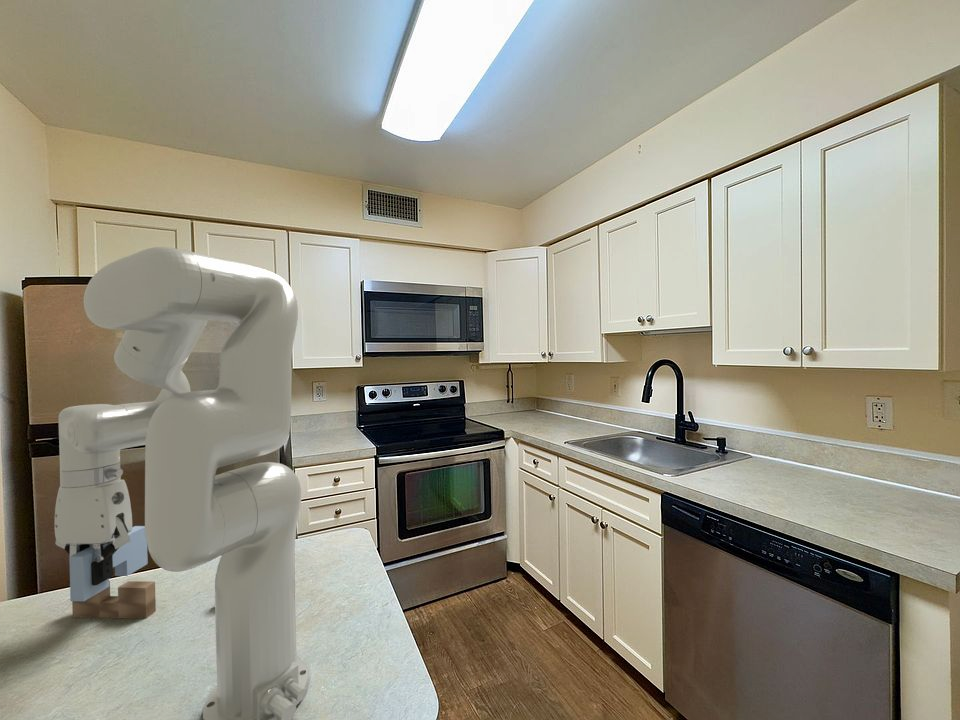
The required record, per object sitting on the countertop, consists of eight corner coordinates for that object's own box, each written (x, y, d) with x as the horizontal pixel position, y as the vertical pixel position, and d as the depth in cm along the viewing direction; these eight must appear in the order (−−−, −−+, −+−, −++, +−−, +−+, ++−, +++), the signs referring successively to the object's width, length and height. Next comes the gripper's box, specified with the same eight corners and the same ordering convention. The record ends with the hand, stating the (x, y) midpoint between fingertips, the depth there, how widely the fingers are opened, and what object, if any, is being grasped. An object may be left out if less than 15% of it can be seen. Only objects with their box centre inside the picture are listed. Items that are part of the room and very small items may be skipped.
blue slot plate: (136, 563, 79) (135, 526, 79) (147, 563, 78) (146, 526, 78) (70, 601, 67) (69, 556, 67) (84, 601, 66) (82, 556, 66)
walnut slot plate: (155, 611, 74) (155, 581, 73) (146, 618, 72) (145, 587, 71) (84, 610, 74) (83, 580, 74) (72, 617, 72) (71, 587, 72)
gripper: (154, 469, 73) (156, 569, 73) (71, 469, 73) (73, 569, 73) (114, 482, 65) (117, 594, 65) (22, 482, 66) (25, 593, 66)
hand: (94, 580), depth 69 cm, fingers closed on blue slot plate, 2 cm apart
